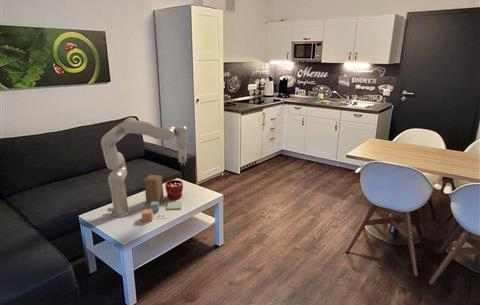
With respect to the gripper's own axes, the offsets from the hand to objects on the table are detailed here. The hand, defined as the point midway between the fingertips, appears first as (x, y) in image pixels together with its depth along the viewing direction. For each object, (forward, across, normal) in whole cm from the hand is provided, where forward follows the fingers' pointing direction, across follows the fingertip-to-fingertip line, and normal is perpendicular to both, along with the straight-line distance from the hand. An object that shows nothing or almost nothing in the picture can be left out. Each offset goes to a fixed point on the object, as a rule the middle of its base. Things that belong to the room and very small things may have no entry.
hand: (183, 168), depth 215 cm
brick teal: (+31, -1, -22) cm, 38 cm away
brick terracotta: (+31, +11, -25) cm, 42 cm away
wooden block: (+31, -15, -24) cm, 42 cm away
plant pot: (+31, -22, -10) cm, 40 cm away
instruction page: (+31, +8, -17) cm, 36 cm away
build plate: (+31, -6, -9) cm, 33 cm away
